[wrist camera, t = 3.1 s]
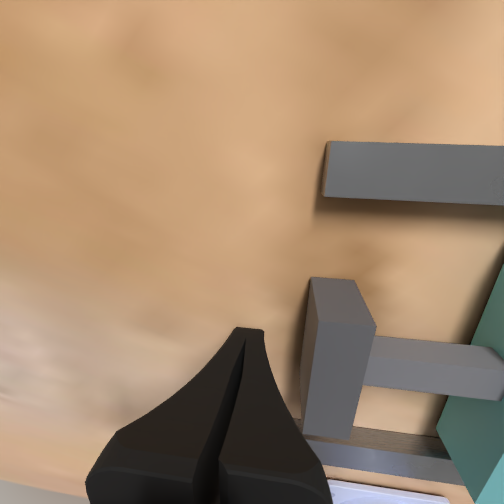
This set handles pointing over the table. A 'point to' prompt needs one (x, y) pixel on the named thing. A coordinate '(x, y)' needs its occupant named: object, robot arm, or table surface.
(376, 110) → the table surface
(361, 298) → the sliding jaw
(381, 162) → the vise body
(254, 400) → the robot arm
